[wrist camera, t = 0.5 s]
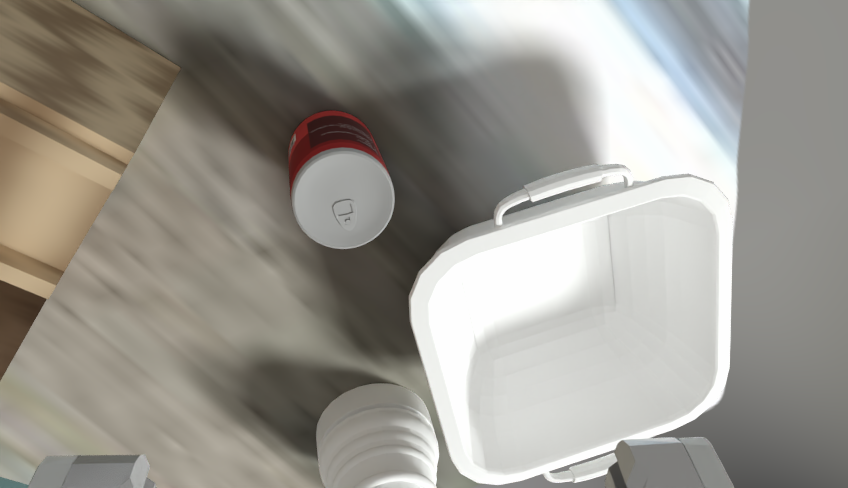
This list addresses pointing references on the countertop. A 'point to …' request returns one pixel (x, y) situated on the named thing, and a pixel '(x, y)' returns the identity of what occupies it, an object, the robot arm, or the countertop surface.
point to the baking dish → (576, 322)
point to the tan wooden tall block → (65, 129)
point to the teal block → (11, 484)
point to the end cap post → (15, 319)
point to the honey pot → (377, 440)
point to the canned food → (338, 181)
